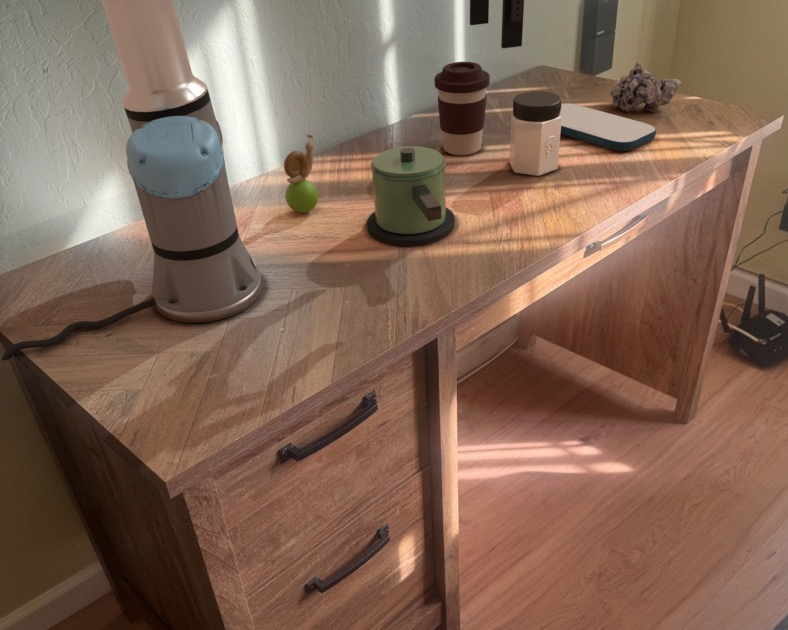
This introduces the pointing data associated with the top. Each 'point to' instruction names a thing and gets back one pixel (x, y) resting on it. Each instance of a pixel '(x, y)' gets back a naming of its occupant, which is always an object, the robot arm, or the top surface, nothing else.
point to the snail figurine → (300, 180)
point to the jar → (535, 132)
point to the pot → (409, 189)
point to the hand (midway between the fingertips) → (494, 35)
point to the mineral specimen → (643, 90)
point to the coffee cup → (462, 106)
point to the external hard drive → (604, 128)
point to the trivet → (411, 238)
